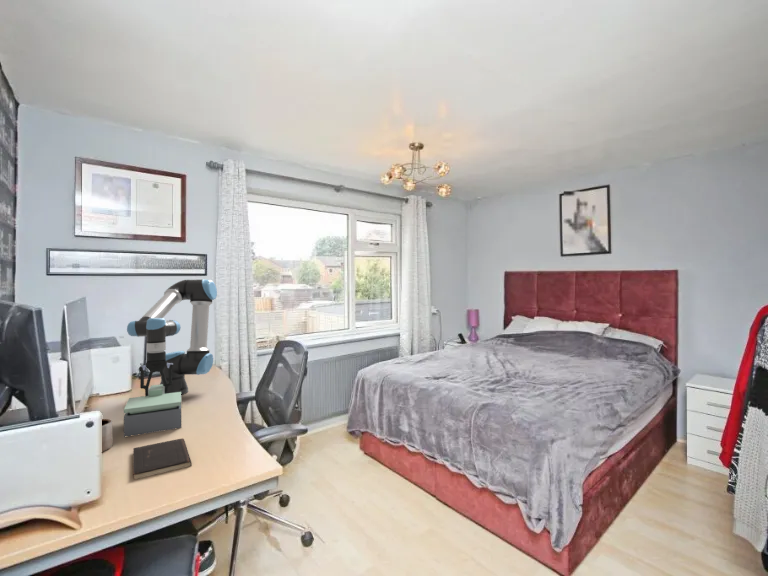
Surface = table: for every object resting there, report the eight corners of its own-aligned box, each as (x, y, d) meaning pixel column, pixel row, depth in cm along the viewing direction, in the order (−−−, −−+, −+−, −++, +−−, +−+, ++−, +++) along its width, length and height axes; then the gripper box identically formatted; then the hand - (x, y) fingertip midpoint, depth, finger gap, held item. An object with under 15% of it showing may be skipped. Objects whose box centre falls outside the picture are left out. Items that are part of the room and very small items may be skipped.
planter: (80, 447, 138) (80, 421, 138) (115, 442, 142) (115, 416, 142) (69, 459, 128) (69, 431, 128) (107, 453, 132) (107, 426, 132)
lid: (131, 399, 171) (131, 387, 171) (181, 392, 180) (181, 382, 180) (123, 416, 147) (123, 403, 147) (181, 408, 157) (181, 395, 157)
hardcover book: (132, 481, 113) (132, 474, 113) (133, 454, 132) (133, 448, 132) (191, 467, 122) (191, 460, 122) (184, 443, 141) (184, 437, 141)
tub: (129, 423, 163) (129, 404, 163) (181, 415, 172) (181, 398, 172) (123, 437, 147) (123, 416, 147) (181, 427, 157) (181, 408, 157)
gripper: (131, 354, 164) (132, 407, 164) (178, 351, 173) (178, 401, 173) (133, 352, 171) (134, 402, 171) (178, 348, 180) (178, 397, 180)
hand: (156, 401), depth 172 cm, fingers closed on lid, 5 cm apart
